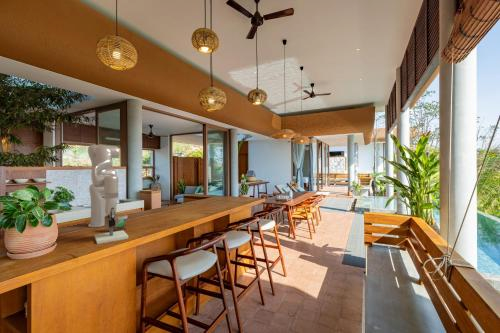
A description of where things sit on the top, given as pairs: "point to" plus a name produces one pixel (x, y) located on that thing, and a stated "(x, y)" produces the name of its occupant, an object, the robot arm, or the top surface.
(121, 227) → the food container
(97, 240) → the post stand
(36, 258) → the top surface
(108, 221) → the bead
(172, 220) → the top surface
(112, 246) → the top surface
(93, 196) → the robot arm
